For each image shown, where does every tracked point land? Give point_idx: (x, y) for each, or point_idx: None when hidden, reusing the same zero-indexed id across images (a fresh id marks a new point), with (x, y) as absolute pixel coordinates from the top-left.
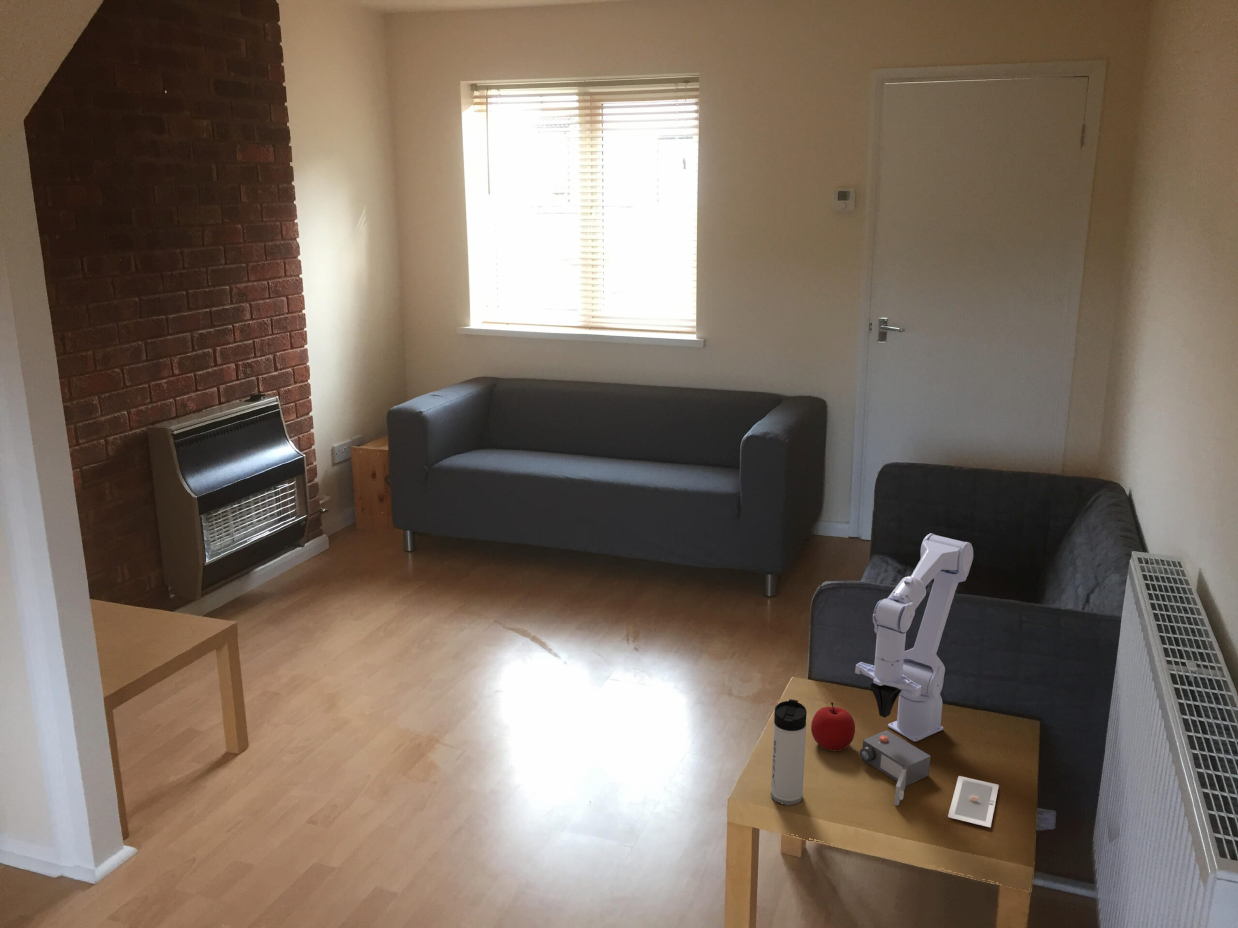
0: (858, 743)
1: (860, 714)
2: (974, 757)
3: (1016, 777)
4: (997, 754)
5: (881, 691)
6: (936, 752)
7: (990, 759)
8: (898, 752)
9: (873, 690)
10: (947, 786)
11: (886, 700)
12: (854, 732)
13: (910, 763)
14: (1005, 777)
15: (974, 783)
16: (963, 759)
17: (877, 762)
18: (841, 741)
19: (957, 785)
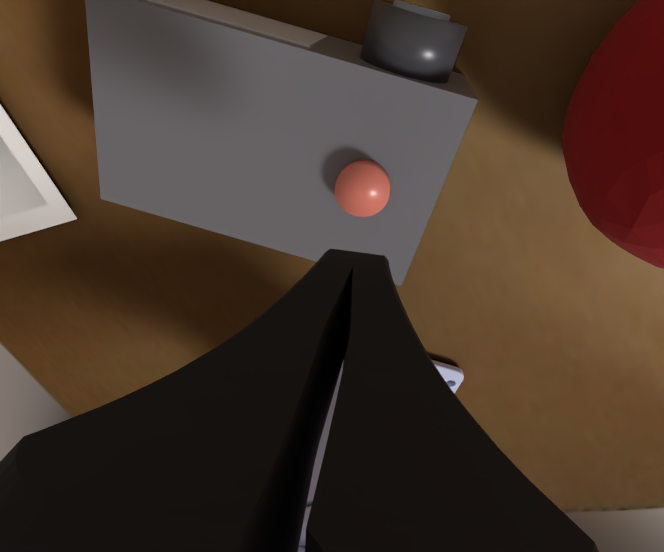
0: (532, 198)
1: (595, 389)
2: (145, 348)
3: (5, 320)
4: (119, 389)
5: (215, 510)
6: (240, 314)
7: (111, 361)
8: (226, 115)
9: (489, 491)
10: (63, 134)
11: (216, 364)
12: (569, 159)
13: (103, 47)
14: (18, 304)
15: (12, 207)
16: (157, 323)
17: (349, 47)
18: (633, 9)
19: (28, 153)
